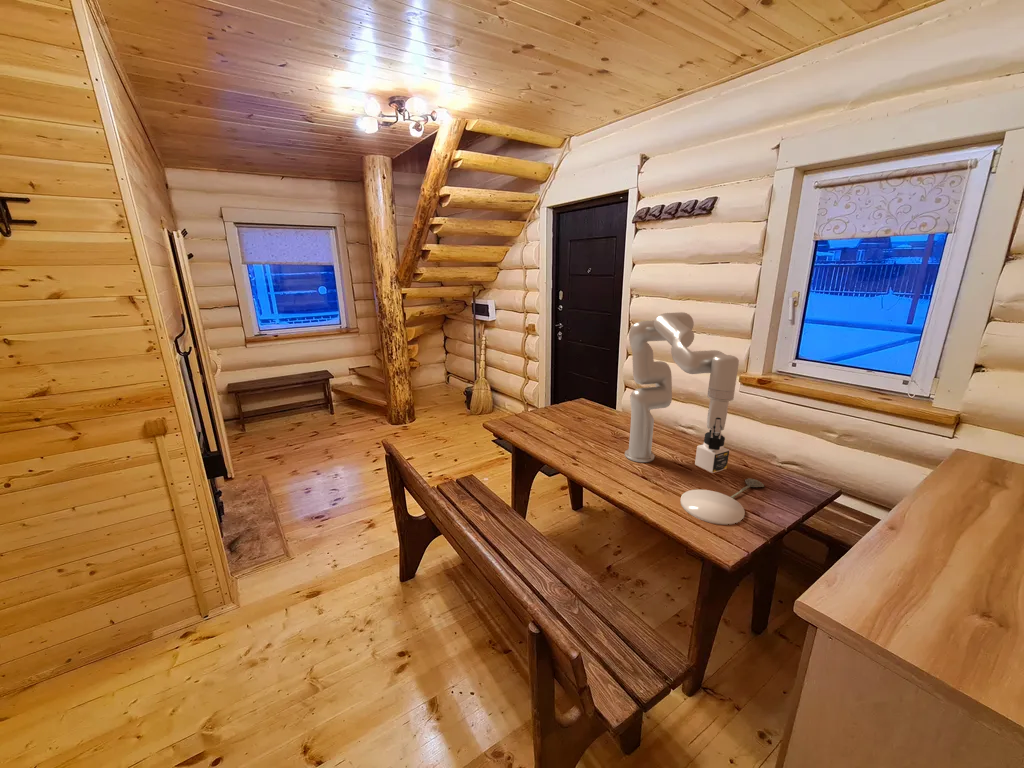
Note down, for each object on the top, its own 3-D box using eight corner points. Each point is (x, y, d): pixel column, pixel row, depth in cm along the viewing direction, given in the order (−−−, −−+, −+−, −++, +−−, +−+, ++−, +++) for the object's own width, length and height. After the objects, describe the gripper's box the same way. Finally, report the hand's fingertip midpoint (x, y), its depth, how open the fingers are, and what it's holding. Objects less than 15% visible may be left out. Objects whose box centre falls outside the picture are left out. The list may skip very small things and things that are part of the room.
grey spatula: (767, 488, 155) (749, 482, 160) (768, 480, 154) (750, 474, 159) (738, 504, 142) (720, 497, 148) (739, 496, 142) (721, 488, 147)
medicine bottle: (712, 473, 132) (717, 439, 129) (694, 464, 138) (698, 432, 135) (727, 469, 135) (732, 435, 132) (708, 460, 141) (712, 428, 138)
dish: (681, 488, 153) (681, 485, 153) (741, 499, 145) (741, 496, 145) (679, 516, 135) (679, 513, 135) (747, 530, 128) (748, 527, 127)
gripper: (707, 385, 139) (701, 434, 143) (708, 399, 124) (701, 453, 128) (732, 388, 136) (725, 437, 140) (735, 402, 121) (727, 457, 125)
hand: (713, 444), depth 134 cm, fingers closed on medicine bottle, 6 cm apart
